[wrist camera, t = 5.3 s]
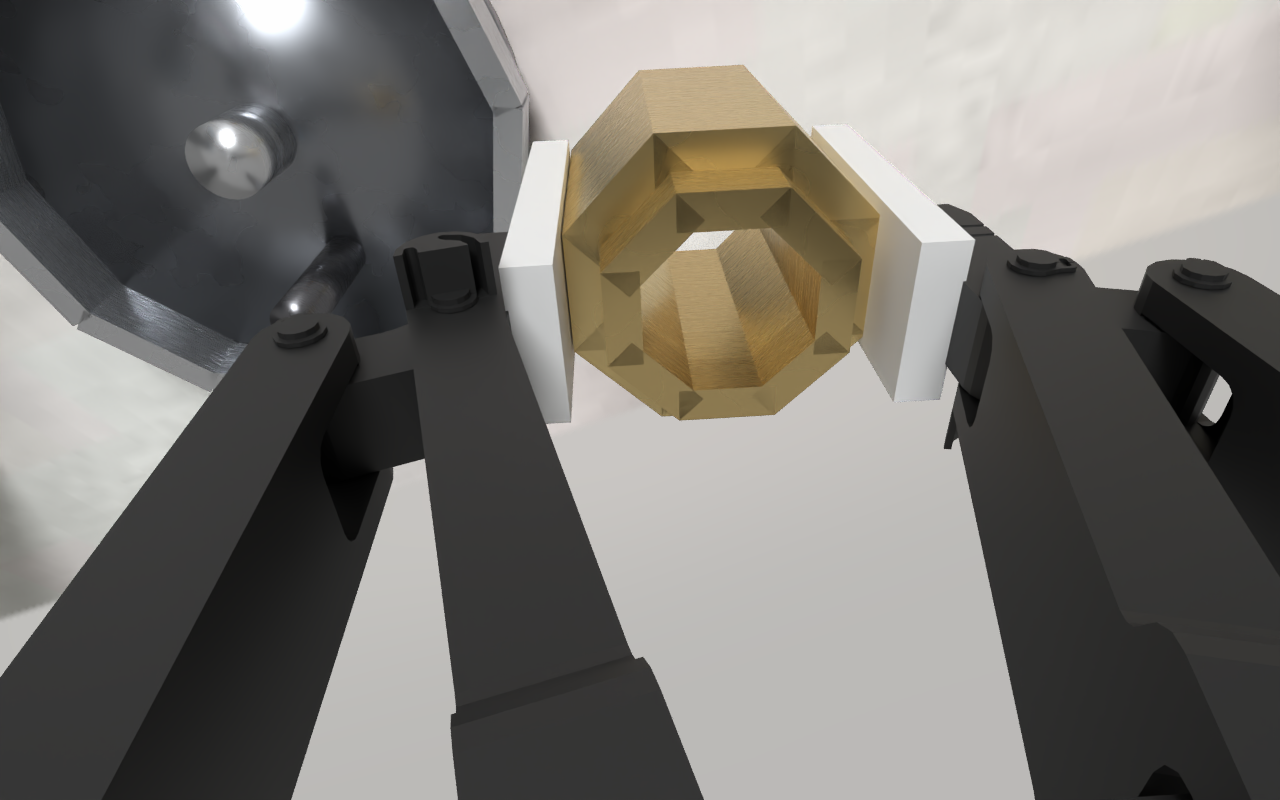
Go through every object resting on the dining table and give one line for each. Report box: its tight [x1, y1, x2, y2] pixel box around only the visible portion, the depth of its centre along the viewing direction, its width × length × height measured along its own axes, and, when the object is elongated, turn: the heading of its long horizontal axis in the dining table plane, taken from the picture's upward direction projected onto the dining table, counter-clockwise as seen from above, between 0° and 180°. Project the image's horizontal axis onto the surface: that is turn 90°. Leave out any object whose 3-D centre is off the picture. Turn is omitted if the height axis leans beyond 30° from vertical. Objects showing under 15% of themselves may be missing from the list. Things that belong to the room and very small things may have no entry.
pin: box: [270, 237, 366, 325], centre depth 29 cm, size 2×2×7 cm
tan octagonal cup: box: [562, 65, 880, 420], centre depth 14 cm, size 5×5×6 cm
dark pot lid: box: [0, 0, 530, 392], centre depth 27 cm, size 20×20×4 cm
